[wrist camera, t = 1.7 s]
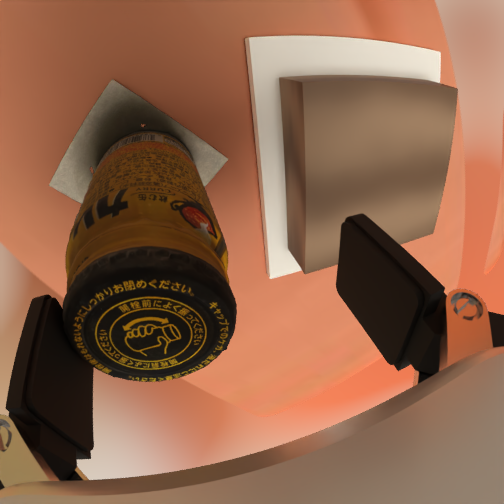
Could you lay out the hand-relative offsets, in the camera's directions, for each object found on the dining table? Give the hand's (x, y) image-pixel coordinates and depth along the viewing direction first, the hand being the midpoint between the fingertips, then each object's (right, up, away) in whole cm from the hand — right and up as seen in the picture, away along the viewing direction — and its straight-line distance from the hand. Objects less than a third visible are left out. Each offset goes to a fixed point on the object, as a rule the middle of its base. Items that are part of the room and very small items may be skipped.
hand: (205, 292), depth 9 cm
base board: (+9, +8, +11) cm, 16 cm away
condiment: (-5, +6, +8) cm, 11 cm away
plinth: (+9, +8, +11) cm, 16 cm away
